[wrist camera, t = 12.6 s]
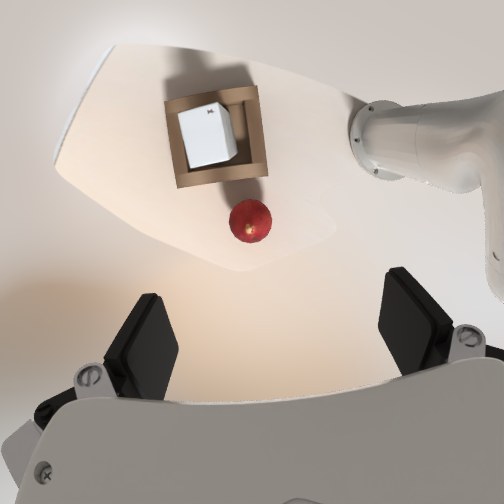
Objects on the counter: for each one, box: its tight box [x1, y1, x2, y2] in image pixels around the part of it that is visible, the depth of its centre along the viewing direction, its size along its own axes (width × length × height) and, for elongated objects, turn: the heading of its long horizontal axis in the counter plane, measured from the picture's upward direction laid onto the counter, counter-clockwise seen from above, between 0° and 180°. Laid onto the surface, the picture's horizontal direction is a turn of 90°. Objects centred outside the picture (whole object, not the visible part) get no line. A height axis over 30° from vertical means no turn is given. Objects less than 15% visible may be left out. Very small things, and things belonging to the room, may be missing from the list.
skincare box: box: [178, 102, 238, 168], centre depth 29 cm, size 6×4×12 cm
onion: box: [229, 199, 272, 243], centre depth 36 cm, size 6×6×8 cm
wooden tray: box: [164, 85, 268, 189], centre depth 34 cm, size 12×12×4 cm
